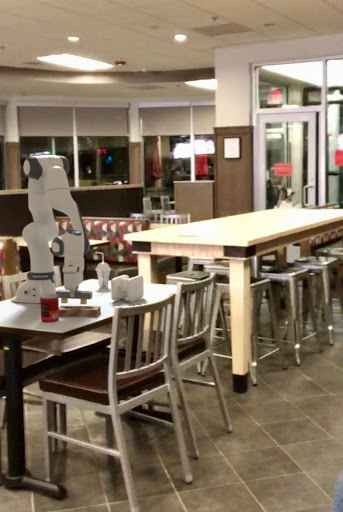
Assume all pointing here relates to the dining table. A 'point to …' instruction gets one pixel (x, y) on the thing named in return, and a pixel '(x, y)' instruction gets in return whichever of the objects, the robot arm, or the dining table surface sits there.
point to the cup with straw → (103, 272)
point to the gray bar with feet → (78, 295)
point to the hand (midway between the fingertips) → (73, 295)
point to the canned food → (49, 307)
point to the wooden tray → (80, 311)
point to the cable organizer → (127, 288)
